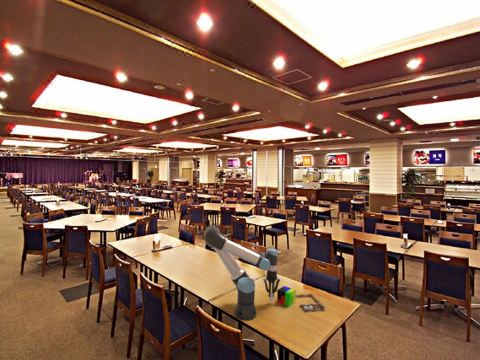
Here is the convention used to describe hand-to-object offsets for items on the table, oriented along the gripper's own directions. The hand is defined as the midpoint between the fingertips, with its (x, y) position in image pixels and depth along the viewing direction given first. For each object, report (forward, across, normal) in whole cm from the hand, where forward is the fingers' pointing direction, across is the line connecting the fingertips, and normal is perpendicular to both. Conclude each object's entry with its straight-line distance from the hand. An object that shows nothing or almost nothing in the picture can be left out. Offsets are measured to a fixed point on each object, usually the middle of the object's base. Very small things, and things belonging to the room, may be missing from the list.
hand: (271, 301), depth 192 cm
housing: (+2, +28, -4) cm, 28 cm away
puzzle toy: (+2, +12, 0) cm, 12 cm away
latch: (+1, +23, -14) cm, 27 cm away
